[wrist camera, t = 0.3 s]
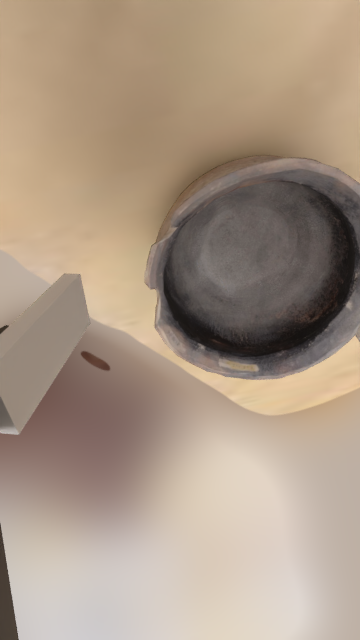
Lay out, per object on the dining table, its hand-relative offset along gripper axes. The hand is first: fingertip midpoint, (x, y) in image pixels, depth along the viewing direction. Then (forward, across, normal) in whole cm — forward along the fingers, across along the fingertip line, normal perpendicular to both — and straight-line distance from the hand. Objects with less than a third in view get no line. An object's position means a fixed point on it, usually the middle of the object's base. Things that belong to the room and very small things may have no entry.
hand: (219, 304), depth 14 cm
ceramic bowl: (+28, +4, -6) cm, 29 cm away
